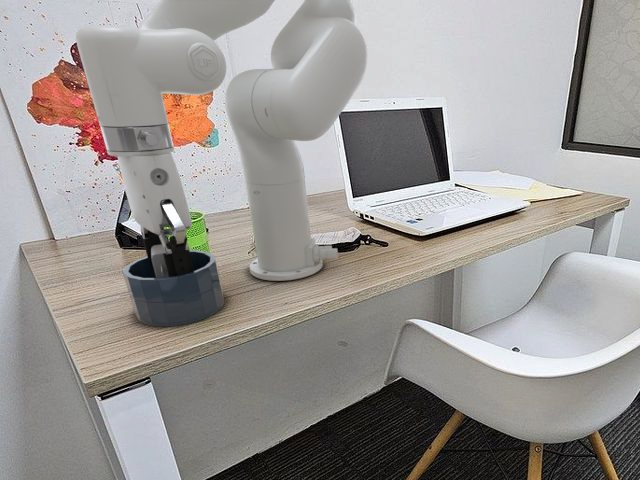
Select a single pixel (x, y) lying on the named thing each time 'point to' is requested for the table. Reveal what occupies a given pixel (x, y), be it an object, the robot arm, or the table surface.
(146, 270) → the pot
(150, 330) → the table surface
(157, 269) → the usb wall charger
